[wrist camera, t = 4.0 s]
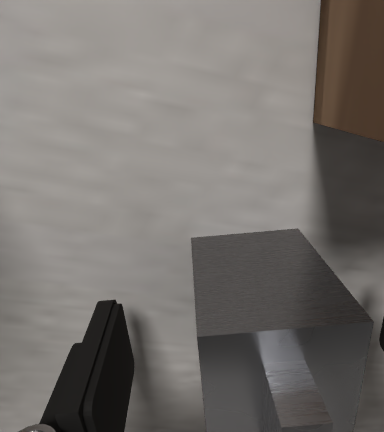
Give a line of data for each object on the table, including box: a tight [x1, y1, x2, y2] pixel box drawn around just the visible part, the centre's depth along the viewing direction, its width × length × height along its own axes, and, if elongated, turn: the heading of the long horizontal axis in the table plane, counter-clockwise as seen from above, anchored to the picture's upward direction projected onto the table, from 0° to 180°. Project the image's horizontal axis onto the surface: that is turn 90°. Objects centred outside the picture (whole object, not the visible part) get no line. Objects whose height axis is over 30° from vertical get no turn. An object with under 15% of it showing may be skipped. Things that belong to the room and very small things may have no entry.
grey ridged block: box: [191, 229, 374, 432], centre depth 10 cm, size 4×5×6 cm
